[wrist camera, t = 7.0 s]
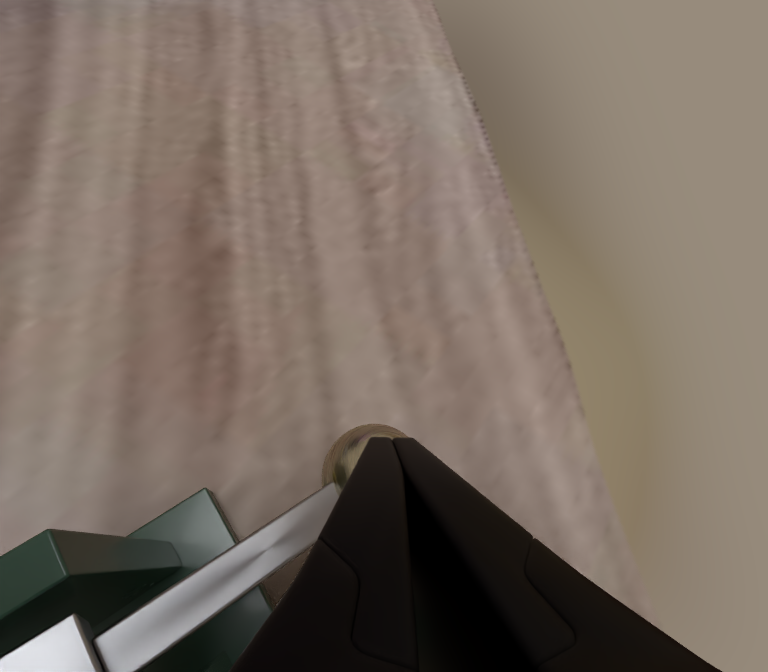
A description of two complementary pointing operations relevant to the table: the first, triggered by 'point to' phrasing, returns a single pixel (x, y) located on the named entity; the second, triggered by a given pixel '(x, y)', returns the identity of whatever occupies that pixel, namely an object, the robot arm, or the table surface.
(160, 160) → the table surface
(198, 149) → the table surface
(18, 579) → the bracket
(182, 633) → the handle lever
